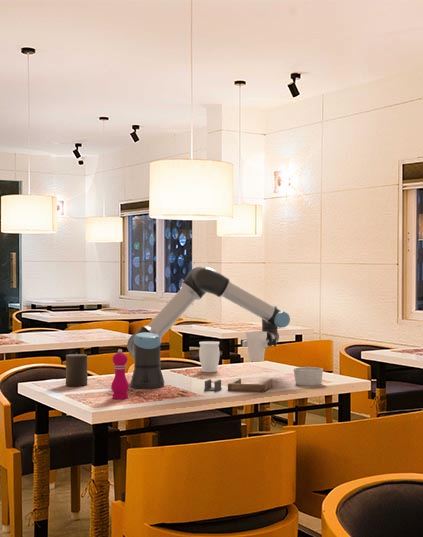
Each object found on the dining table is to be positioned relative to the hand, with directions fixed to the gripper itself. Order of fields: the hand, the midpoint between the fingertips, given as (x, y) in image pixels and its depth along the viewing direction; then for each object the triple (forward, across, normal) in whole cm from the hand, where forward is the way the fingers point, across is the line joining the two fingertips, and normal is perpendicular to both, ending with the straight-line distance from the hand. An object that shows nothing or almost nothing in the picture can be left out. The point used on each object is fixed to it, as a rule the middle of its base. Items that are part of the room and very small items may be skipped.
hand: (254, 344), depth 338 cm
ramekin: (-10, -22, -19) cm, 31 cm away
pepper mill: (+46, +45, -18) cm, 67 cm away
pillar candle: (+20, +78, -18) cm, 82 cm away
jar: (-39, +33, -18) cm, 54 cm away
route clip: (+17, +14, -18) cm, 28 cm away
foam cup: (-4, 0, -8) cm, 9 cm away
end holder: (+9, 0, -18) cm, 20 cm away
